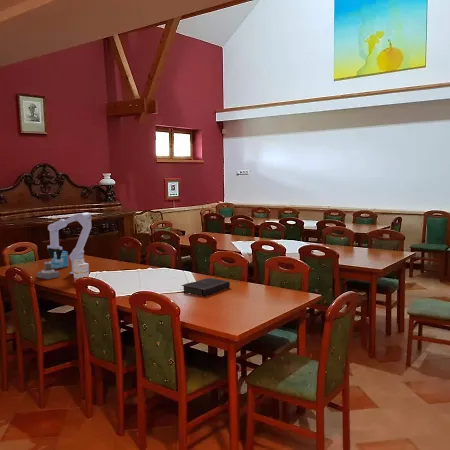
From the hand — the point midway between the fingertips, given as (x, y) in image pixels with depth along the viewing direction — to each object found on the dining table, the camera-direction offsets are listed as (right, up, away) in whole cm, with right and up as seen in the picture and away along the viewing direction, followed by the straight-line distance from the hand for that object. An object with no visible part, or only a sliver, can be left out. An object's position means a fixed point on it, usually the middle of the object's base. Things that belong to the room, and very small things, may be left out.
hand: (55, 258), depth 339 cm
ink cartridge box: (+28, -13, -29) cm, 42 cm away
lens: (+1, -8, -15) cm, 17 cm away
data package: (-4, -8, +20) cm, 22 cm away
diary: (+111, -15, -58) cm, 126 cm away
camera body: (0, -12, -15) cm, 19 cm away
